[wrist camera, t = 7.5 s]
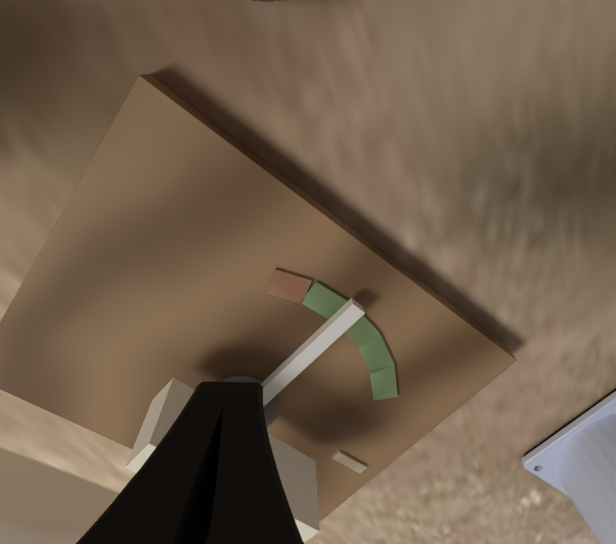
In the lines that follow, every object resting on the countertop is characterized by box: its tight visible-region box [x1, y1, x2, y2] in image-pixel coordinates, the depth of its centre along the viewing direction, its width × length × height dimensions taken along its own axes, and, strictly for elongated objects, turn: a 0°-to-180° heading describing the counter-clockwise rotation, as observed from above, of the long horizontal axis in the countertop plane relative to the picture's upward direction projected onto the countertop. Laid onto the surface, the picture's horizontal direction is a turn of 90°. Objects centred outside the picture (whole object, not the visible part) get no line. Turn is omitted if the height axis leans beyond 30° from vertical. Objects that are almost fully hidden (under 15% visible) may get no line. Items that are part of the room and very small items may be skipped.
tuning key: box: [125, 298, 365, 542], centre depth 17 cm, size 9×8×5 cm
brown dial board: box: [0, 74, 517, 522], centre depth 20 cm, size 20×16×2 cm
